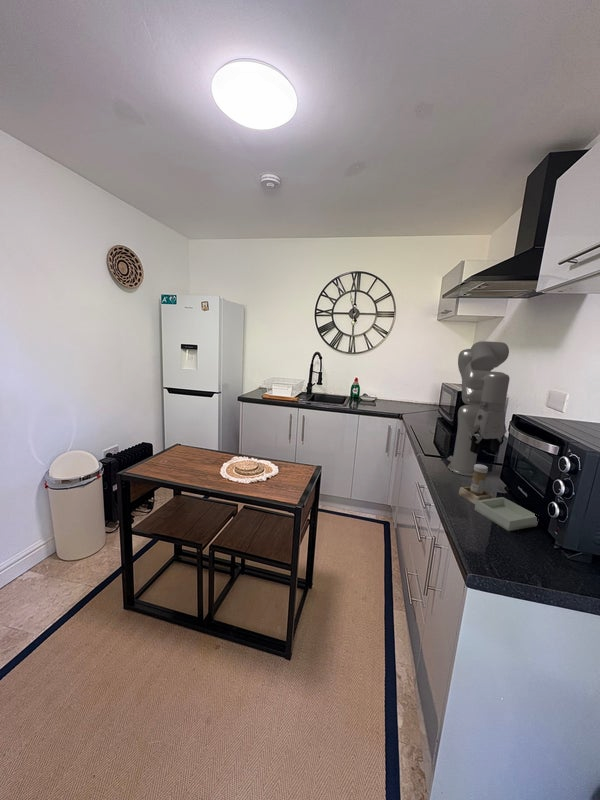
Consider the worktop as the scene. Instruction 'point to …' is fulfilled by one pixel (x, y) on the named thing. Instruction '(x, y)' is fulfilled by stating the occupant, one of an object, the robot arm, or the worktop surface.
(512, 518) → the tray
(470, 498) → the collar
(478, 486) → the sprinkles bottle
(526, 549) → the worktop surface
